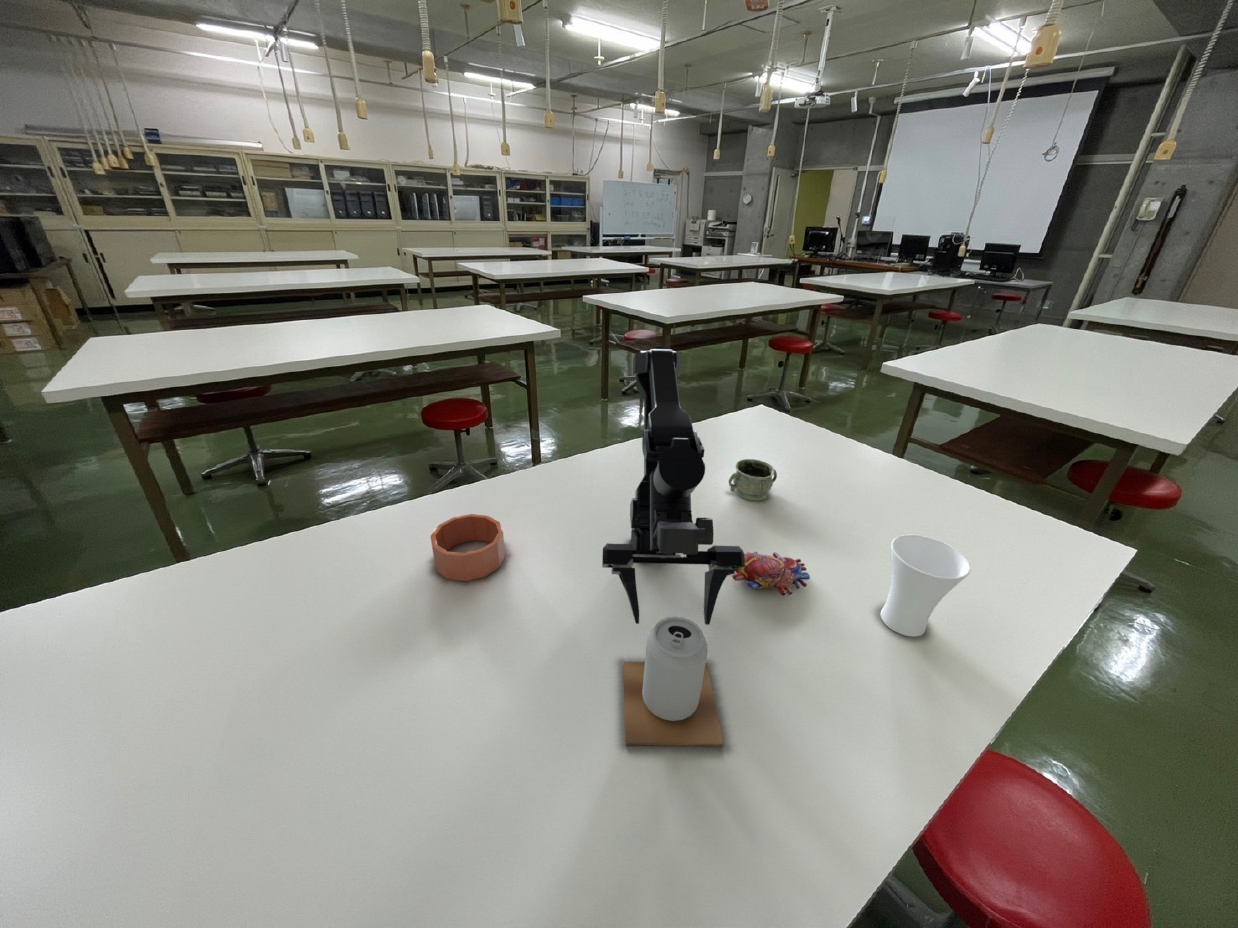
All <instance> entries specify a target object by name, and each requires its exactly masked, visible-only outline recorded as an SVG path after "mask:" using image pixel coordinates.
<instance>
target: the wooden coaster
mask: <svg viewBox="0 0 1238 928" xmlns="http://www.w3.org/2000/svg"><path fill="white" fill-rule="evenodd" d="M644 667H645V661H623V662H622V673H623V678H622V679H623V702H624V703H623V705H624V706H623V707H624V713H623V714H624V743H625V744H624V745H625V746H692V747H693V746H694V747H695V746H697V747H698V746H701V747H702V746H704V747H705V746H707V747H709V746H711V747H718V746H719V747H720V746H721V747H723V746H724V739H723V734H722V730H721V725H720V719H719V715H718V710H717V706H716V700H715V696H714V691H713V690H714V689H713V686H712V681H711V677H710V671H709V667H708V663H707V662H706V664H705V670H704V676H703V682H702V687H701V693H700V699H699V704H698V706H697V709H696V711H695V712H694V713H693V714H692V715H691V716H689V717H687V718H685V719H683V720H677V721H671V720H665V719H662V718H660V717H658V716H656V715H654V714H653V713H652V712H651V711H650V710H649V709H648V708H647V706H646V704H645V703H644V700H643V695H642V690H643V678H644Z"/></svg>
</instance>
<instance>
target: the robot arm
mask: <svg viewBox="0 0 1238 928" xmlns="http://www.w3.org/2000/svg"><path fill="white" fill-rule="evenodd" d="M681 360H682V354H678V353H677V351H676V350H673V349H665V348H650V349H649V350H639V353H634V355H633V357H632V377H635V388H636V390H637V391H638V393H639V394H640V397H642V399H643V429H642V435H641V437H642V439H641V440H642V441H641V447H642V456H643V478H642V479H641V481H640V483H639V484H638V486H637V488H636V489H635V492H634V493H635V494H634V497H632V498H631V501H630V504H629V520H630V529H631V531H630V539H629V541H628V543H606V544H604V546H603V547H602V557H601V558H602V559H601V562H602V565H601V567H602V568H607V569H611V575H618V577H619V579H620V582H621V584H622V586H623V588H624V590H625V593H626V596H627V599H628V602H629V606H630V609H631V612H632V616H633V619H634V623H635V624H636V625H639V624H640V606H639V597H638V590H637V579H636V578H637V577H636V567H633V566H634V564H646V565H647V564H650V565H651V564H653V565H655V564H656V565H702V566H703V565H706V566H708V571H704V587H703V588H704V590H703V591H704V593H703V618H704V620H703V621H704V624H705V625H706V626H709V625H710V623H711V620H712V618H713V614H714V610H715V606H716V603H717V599H718V595H719V593H720V591H721V588H722V586H723V583H724V582H725V580H726V578H727V577H728V576H731V575H734V574H736V571H735V569H739V568H742V567H745V557H744V554H745V552H744V550H743V548H742V547H741V546H740V545H713V544H714V536H715V535H714V520H713V518H712V517H696V518H695V522H694V521H693V514H692V493H693V492H694V491H695V490H696V488H697V487H698V486H699V485H700V484H701V482H702V480H703V479H704V477H705V475H706V464H705V462H704V460H703V458H704V457H705V447H704V444H703V442H702V441H701V439H700V437H699V436H698V432H697V430H696V429H694V427H693V423H692V418H691V415H690V414H689V413H688V412H686V411H685V410H684V409H683V408H682V407H681V401H680V393H679V387H678V385H679V384H678V379H677V378H678V377H680V376H681V363H682V361H681ZM701 545H704V546H707V545H708V546H711V547H708V548H707V550H699V546H701ZM712 545H713V546H712ZM681 554H682V555H683V556H681Z"/></svg>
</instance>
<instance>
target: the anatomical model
mask: <svg viewBox="0 0 1238 928" xmlns="http://www.w3.org/2000/svg"><path fill="white" fill-rule="evenodd" d="M744 557H745V567H742V568H739V569H735V574H732V579H733V580H734V581H735V582H739V581H745V582H747V583H746V584H747V586H748V587H749V588H750V589H751V590H757V589H766V590H767V589H776V590H778V591H779V594H780V595H781V596H786V595H787V594H788V595H789V596H791V595H792V594H793V591H792V590H791V588H790V587H791V586H793V585H794V587H795V588H796V589H800V588H801V586H802V587H805V588H806V587H807V585H808V584H807V582H806V581H807V580H810V579H811V575H810V574H809V572H806V571H807V567H805V563H803V562H802V560H801V559H800V558H796V559H793V558H791V557H787V556H781V555H780V554H779V553H778V552H776V551H774V552H773V553H772V555H769V554H762V553H758V552H757V551H753V552H750V551H747V552H746V553H744ZM805 580H806V581H805ZM800 585H801V586H800Z"/></svg>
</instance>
